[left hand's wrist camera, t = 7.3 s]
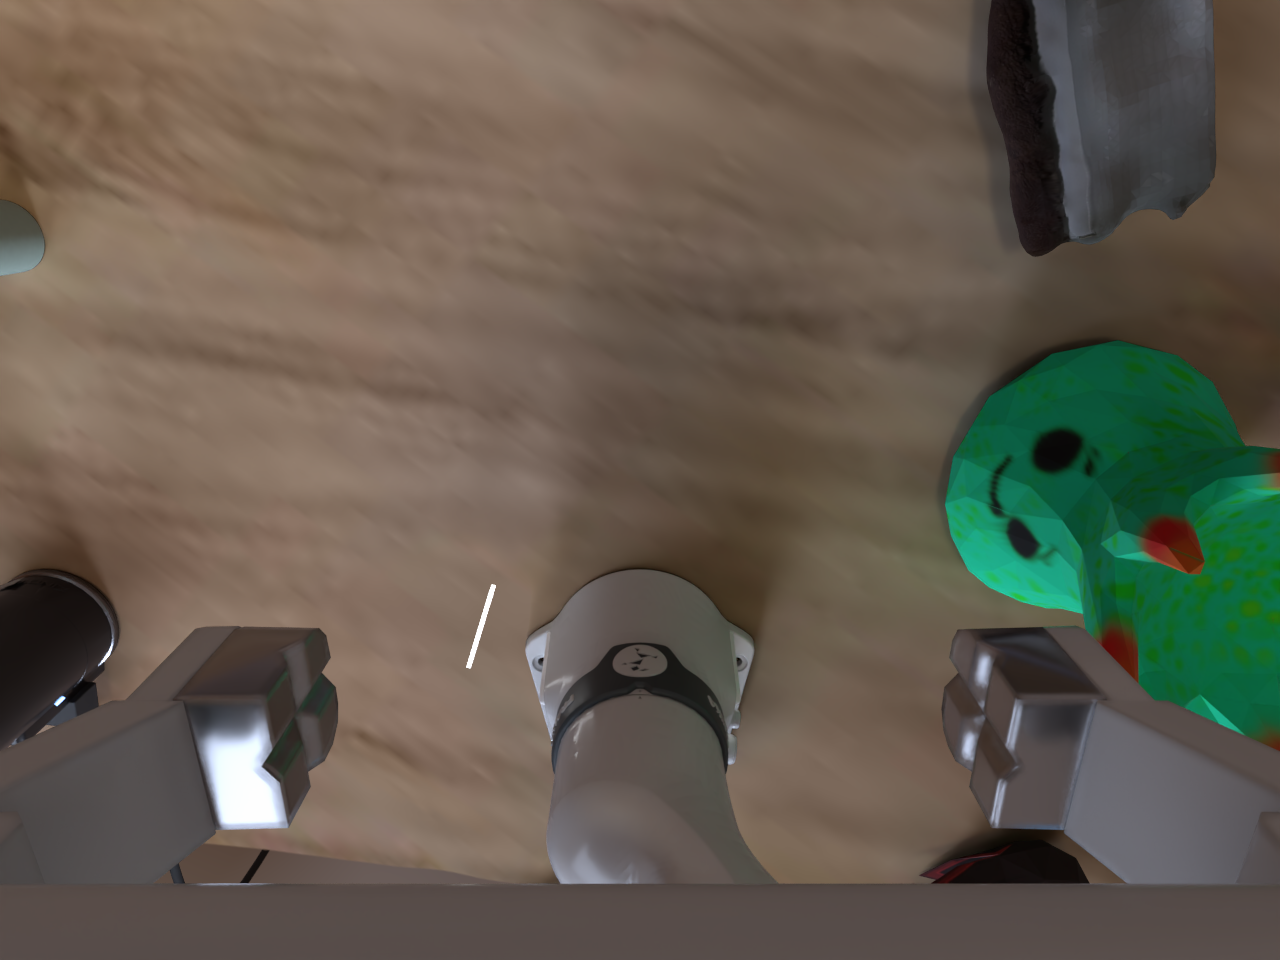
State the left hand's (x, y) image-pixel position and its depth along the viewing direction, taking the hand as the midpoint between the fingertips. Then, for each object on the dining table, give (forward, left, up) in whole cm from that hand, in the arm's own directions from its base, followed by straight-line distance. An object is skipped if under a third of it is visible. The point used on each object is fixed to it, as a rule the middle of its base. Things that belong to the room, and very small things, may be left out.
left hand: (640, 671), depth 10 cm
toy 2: (-15, -33, -48) cm, 60 cm away
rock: (+10, -27, -48) cm, 56 cm away
